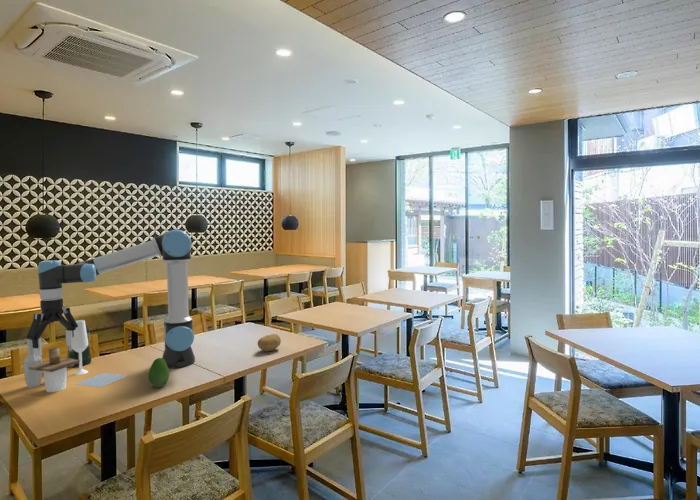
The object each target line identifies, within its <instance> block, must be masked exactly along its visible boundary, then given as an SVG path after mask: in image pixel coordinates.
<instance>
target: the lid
mask: <svg viewBox="0 0 700 500" xmlns="http://www.w3.org/2000/svg"><path fill="white" fill-rule="evenodd" d="M60 351H61V350H60V347H52V348H49V349H48V360H47V361H44V362H43V361H42V363H40V364H37V365H34V366H31V367H29V370H38V371H42V372H43V371H47V372H54V371H57V370H60V369H63V368H65V367H67V368H68V367H69V366H71V365H74V364H77V363H79V362H80V360H74V359H67V358H62V357H61V353H60Z"/></svg>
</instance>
